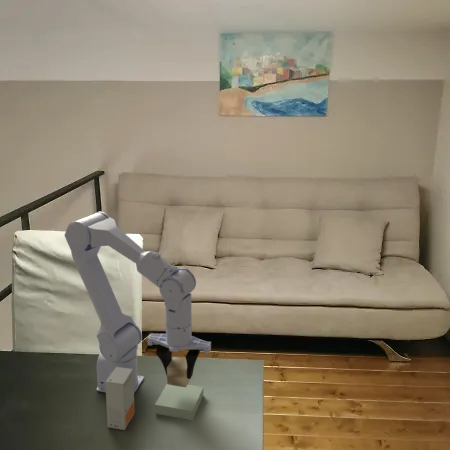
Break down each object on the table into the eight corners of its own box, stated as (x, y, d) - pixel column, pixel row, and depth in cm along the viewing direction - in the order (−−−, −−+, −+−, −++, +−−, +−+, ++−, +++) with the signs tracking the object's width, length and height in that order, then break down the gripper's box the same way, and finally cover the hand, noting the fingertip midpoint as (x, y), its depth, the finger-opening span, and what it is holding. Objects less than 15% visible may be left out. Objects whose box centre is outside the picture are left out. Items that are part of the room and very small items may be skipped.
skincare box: (125, 430, 110) (122, 384, 107) (107, 428, 111) (104, 381, 107) (135, 413, 116) (133, 368, 112) (118, 410, 117) (115, 365, 113)
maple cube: (167, 384, 115) (166, 367, 114) (173, 373, 120) (173, 356, 118) (186, 387, 115) (185, 370, 113) (191, 376, 119) (191, 359, 117)
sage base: (155, 413, 116) (154, 404, 115) (168, 390, 124) (168, 381, 123) (192, 420, 114) (192, 411, 113) (203, 395, 122) (203, 387, 122)
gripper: (141, 327, 110) (143, 380, 114) (205, 336, 107) (204, 390, 111) (153, 312, 117) (154, 362, 121) (213, 320, 114) (213, 371, 118)
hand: (179, 374), depth 117 cm, fingers closed on maple cube, 4 cm apart
